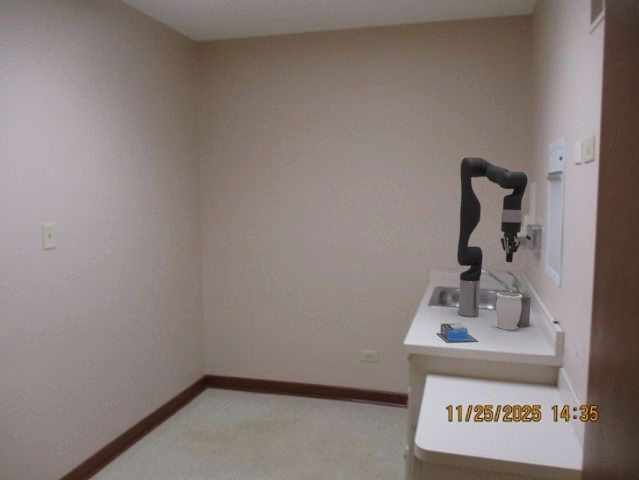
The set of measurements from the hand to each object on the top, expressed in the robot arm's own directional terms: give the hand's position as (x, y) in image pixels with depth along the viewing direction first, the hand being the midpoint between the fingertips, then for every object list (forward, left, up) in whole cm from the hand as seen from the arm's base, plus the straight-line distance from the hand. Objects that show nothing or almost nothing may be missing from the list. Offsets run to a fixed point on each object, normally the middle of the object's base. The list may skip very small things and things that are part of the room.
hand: (509, 261), depth 197 cm
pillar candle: (-12, +12, -31) cm, 35 cm away
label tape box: (-3, -23, -28) cm, 37 cm away
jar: (-7, +5, -31) cm, 32 cm away
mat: (+4, -23, -31) cm, 39 cm away
